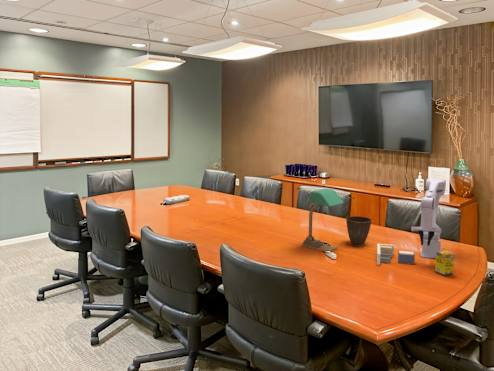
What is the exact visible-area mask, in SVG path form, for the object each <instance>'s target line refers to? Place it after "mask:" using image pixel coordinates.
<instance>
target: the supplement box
mask: <svg viewBox="0 0 494 371" xmlns="http://www.w3.org/2000/svg"><path fill="white" fill-rule="evenodd" d="M454 259H455V253H454V252H451V251H450V250H445V249H444V250H440V251H437V252H436V258H435V264H434V265H435V268H434V273H436V274H438V275H441V276H442V277H446V276H449V275H453V274H454V273H453V270H454V262H455V261H454Z"/></svg>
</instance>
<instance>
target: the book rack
mask: <svg viewBox="0 0 494 371" xmlns="http://www.w3.org/2000/svg"><path fill="white" fill-rule="evenodd" d="M394 252H395V245H394V244H385V243H376V265H378V266H381V263H384V264H385V263H386V264H391V260H392V258H393V257H394V254H395V253H394Z"/></svg>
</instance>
